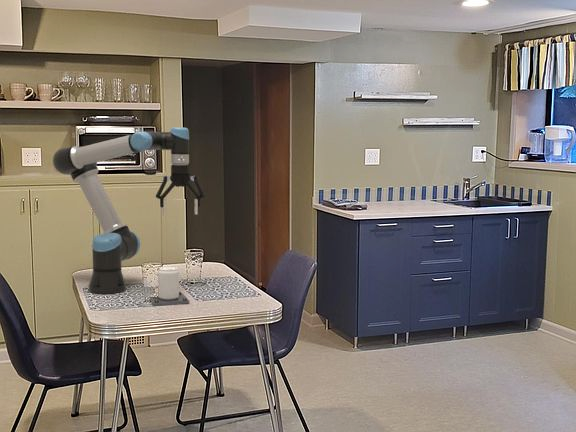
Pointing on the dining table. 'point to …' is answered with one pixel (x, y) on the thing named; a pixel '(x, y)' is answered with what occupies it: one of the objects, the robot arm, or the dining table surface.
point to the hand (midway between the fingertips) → (180, 214)
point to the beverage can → (168, 283)
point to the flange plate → (160, 302)
